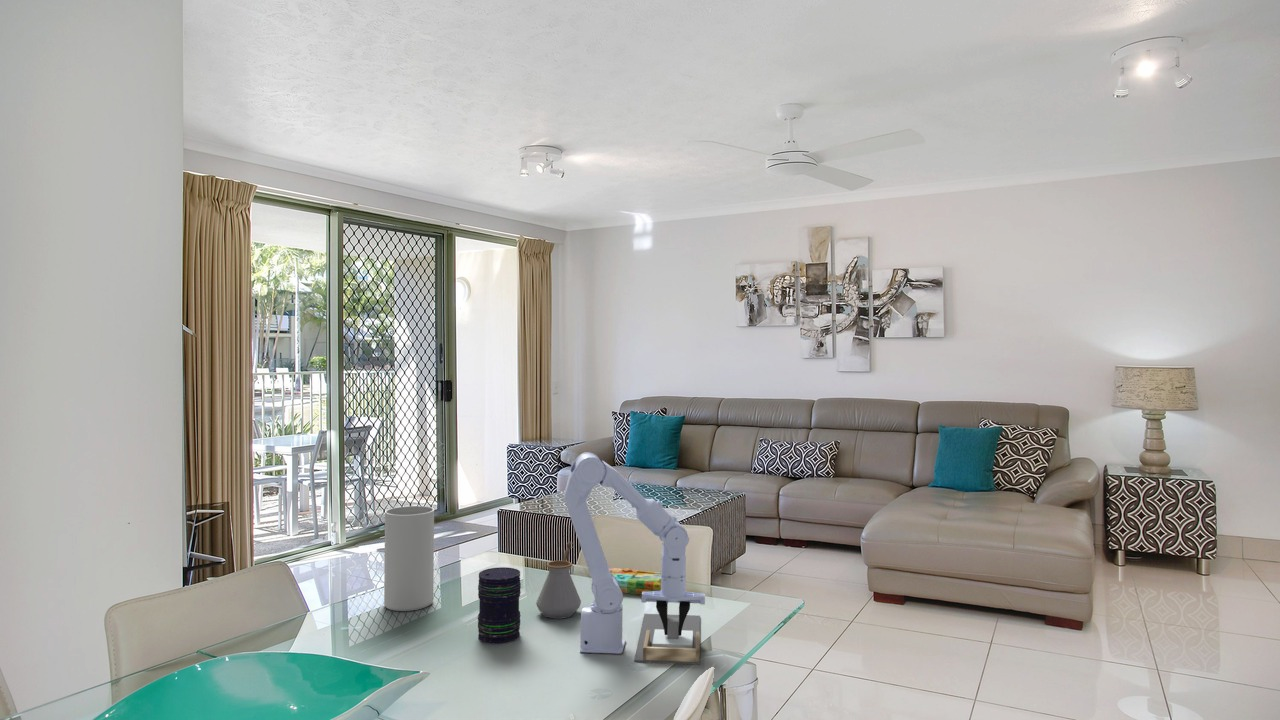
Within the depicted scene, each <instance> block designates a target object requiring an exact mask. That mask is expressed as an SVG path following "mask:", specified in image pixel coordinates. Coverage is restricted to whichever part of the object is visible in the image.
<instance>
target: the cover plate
mask: <svg viewBox="0 0 1280 720" xmlns="http://www.w3.org/2000/svg"><path fill="white" fill-rule="evenodd" d="M678 629H679V618H668V623H667V635H665V633H664V630H663V629H655V631H654V637H653V642H652V647H671V648H692V645H693V631H688V630H682V633H681V636H678Z"/></svg>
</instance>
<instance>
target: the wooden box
mask: <svg viewBox="0 0 1280 720" xmlns="http://www.w3.org/2000/svg"><path fill="white" fill-rule="evenodd" d="M649 644H650V630H647V631H646V636H645V641H644V646H643V660H659V661H684V662H699V655H700V656H701V652H700V651H701V631H700V632H696V648H671V647H649Z"/></svg>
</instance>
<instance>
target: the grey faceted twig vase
mask: <svg viewBox="0 0 1280 720" xmlns="http://www.w3.org/2000/svg"><path fill="white" fill-rule="evenodd" d="M572 545H575V543H574V542H572V541H568V542H567V543H566V549H565V551H564V554H563V559H562V560H552V561H549V562H547V563H546V567H547V568H548V573H547V576H546V579H545V580H544V583H543V584H542V585H543V586H542V588H541V589H540V590H541V591H540V592H539V594H538V595H539V596H538V598H537V600H536V602H535V604H536V607H537V609H538V611H540V613H542V614H543V616H544V617H546V618H549V619H557V620H558V619H566V618H571V617H572V616H573V615H574V614H575V613H576V612H577V611H578V610H579V608H580V607H581V604H582V600H581V598H580V595H579V593H578V590H577V588H576V586H575V583H574V580H573V578H572V576H571V574H570V570H571V569H572V567H573V563H572V562H570V561H568V558H569V555H570V550H571V549H572V548H574V546H572Z"/></svg>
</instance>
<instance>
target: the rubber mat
mask: <svg viewBox="0 0 1280 720" xmlns="http://www.w3.org/2000/svg"><path fill="white" fill-rule="evenodd" d="M668 618H679V614H667V619H668ZM655 629H663V630H664V627H663V623H662V620H661V617H660V615H659V613H643V617H642V623H641V627H640V632H639V636H638V637H639V638H638V640H637V646H636V650H635V654H634V659H633V662H634V663H649V662H650V663H651V664H652V663H654V664H675V665H676V664H677V665H681V664H682V665H698V666H699V665H701V654H700V655H699V662H684V661H659V660H643V646H644V641H645V636H646V631H647V630H650V644H649V647H652V642H653V637H654V631H655ZM682 630H688V631H693V645H692V648H696V632H700V633H701V616H700V615H696V614H695V615H691V614H690V615H688V614H687V616H686V618H685V621H684V624H683V627H682Z"/></svg>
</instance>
